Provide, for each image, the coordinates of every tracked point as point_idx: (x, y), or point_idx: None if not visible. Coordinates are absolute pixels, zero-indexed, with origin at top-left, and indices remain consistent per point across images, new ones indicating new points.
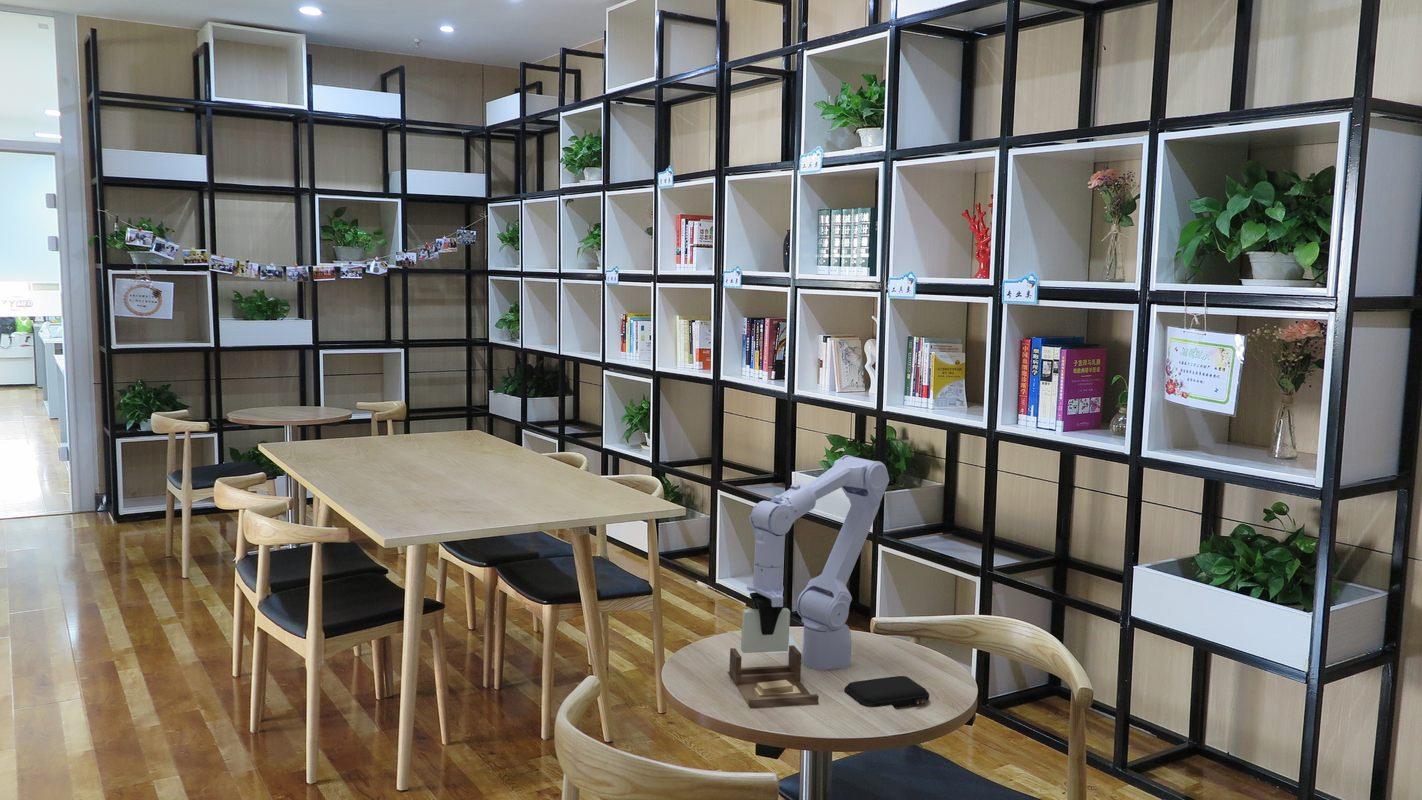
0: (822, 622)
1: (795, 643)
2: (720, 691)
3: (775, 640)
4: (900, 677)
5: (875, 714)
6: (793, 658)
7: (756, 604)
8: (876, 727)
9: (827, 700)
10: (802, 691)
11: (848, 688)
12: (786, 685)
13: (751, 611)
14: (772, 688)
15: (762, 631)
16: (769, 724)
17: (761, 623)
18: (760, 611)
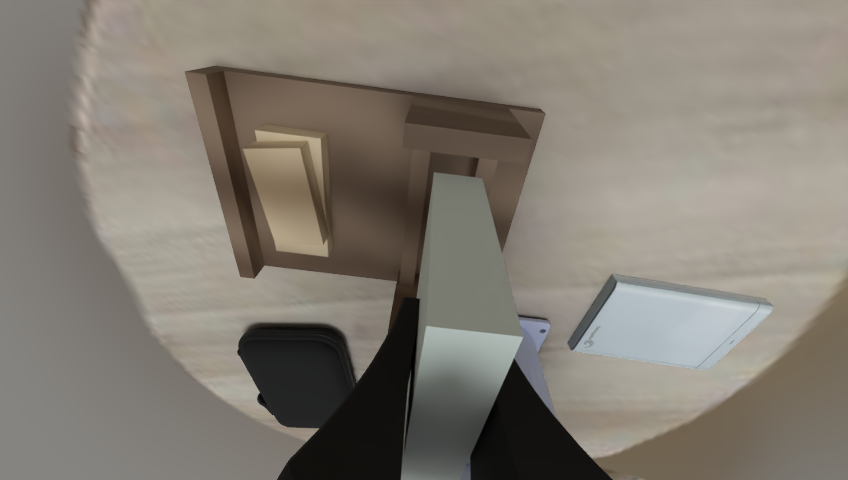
0: (464, 471)
1: (633, 357)
2: (418, 29)
3: None
4: None
5: (236, 333)
6: None
7: (504, 445)
8: (171, 312)
9: (309, 290)
10: (331, 261)
11: (312, 343)
12: (275, 228)
13: (446, 370)
14: (255, 181)
15: (400, 308)
16: (137, 98)
17: (387, 339)
18: (333, 416)
